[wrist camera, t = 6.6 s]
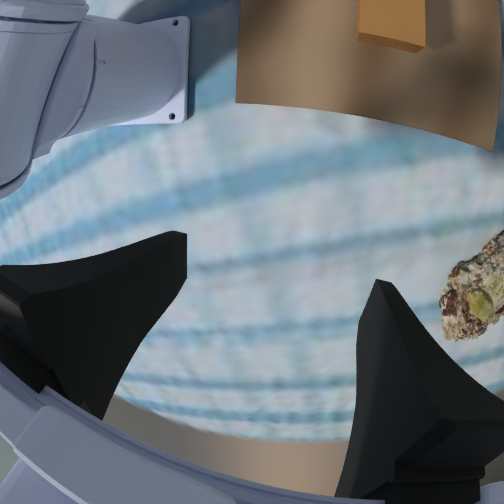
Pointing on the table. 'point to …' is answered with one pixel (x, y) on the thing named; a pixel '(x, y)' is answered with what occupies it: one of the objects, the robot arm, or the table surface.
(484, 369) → the table surface
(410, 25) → the press lever
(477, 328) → the mineral rock
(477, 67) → the base
